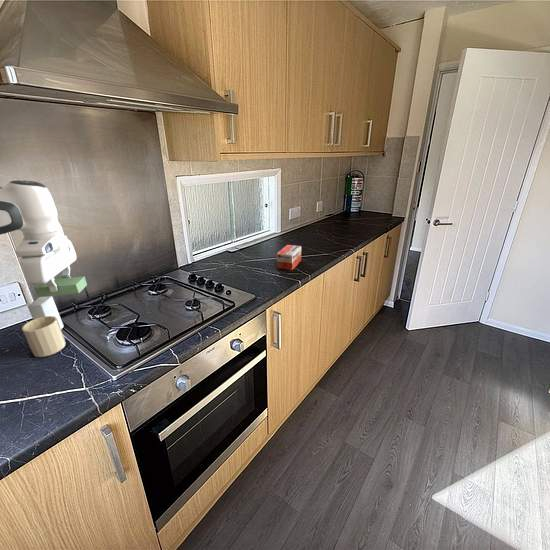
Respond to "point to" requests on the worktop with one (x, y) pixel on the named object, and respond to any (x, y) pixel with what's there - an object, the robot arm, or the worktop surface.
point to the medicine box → (289, 257)
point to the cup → (44, 336)
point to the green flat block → (62, 287)
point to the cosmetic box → (44, 309)
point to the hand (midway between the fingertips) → (61, 285)
